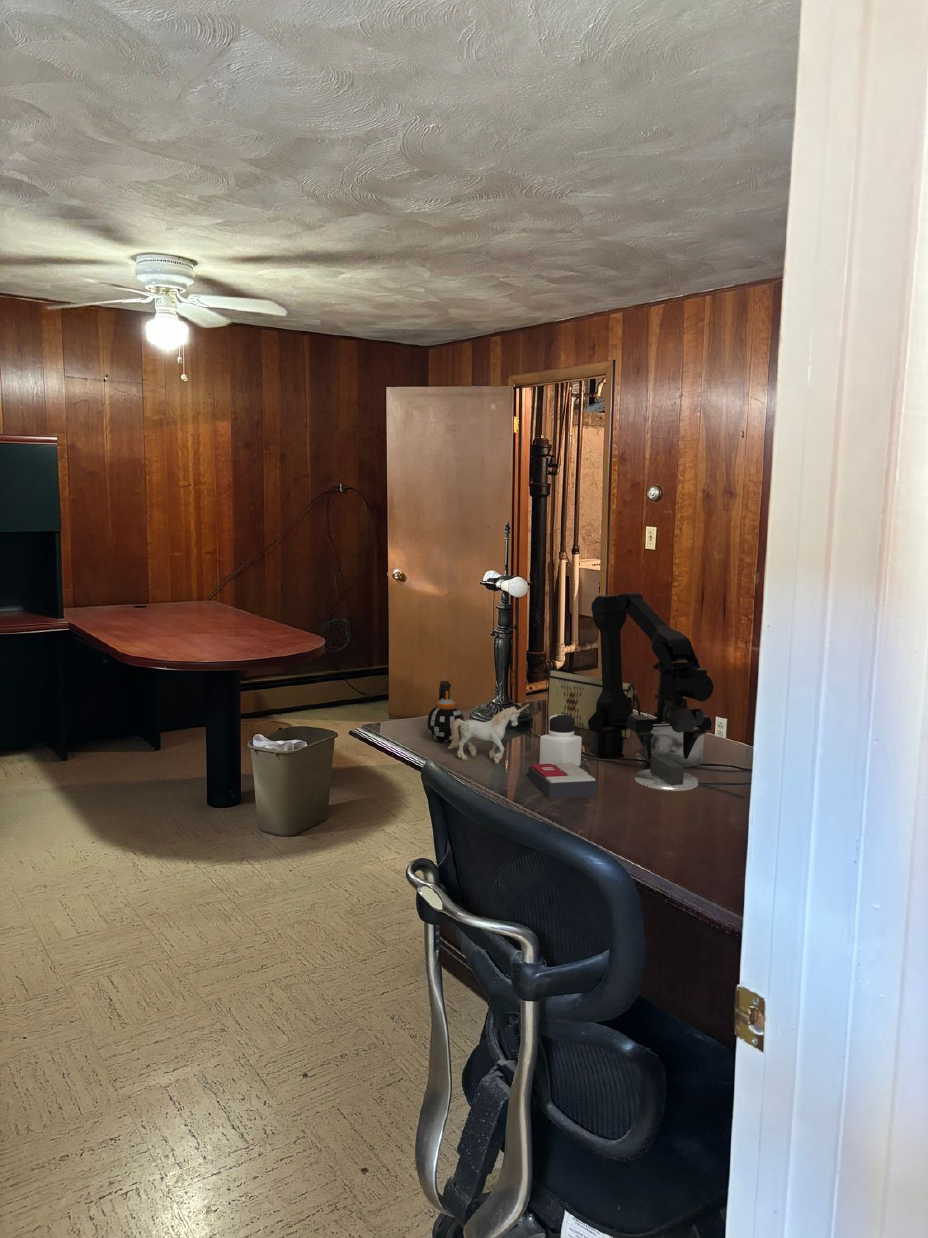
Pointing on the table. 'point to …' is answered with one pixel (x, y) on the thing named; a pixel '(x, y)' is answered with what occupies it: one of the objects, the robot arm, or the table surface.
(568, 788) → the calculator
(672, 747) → the grey cylinder drum
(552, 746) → the medicine bottle
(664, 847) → the table surface
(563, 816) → the table surface
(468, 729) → the unicorn figurine
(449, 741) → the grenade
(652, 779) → the lid
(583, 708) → the clutch purse
